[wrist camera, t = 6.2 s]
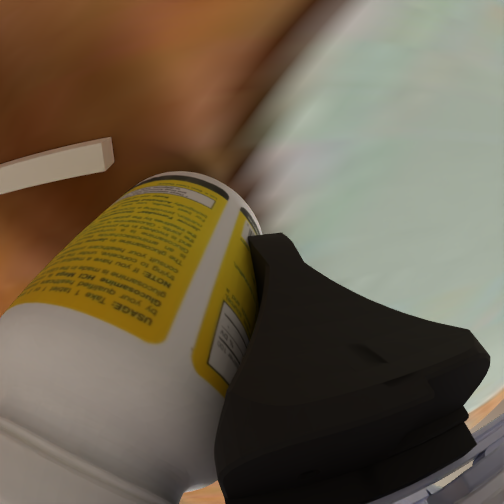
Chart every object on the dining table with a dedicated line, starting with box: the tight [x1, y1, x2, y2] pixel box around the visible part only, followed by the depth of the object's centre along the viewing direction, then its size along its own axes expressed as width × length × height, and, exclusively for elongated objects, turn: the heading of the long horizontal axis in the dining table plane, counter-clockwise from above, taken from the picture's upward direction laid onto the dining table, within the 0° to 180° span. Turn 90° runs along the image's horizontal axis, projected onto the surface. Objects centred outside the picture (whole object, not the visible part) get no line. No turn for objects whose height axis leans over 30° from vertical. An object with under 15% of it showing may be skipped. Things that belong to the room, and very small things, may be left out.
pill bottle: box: [0, 171, 263, 504], centre depth 8 cm, size 6×6×11 cm
